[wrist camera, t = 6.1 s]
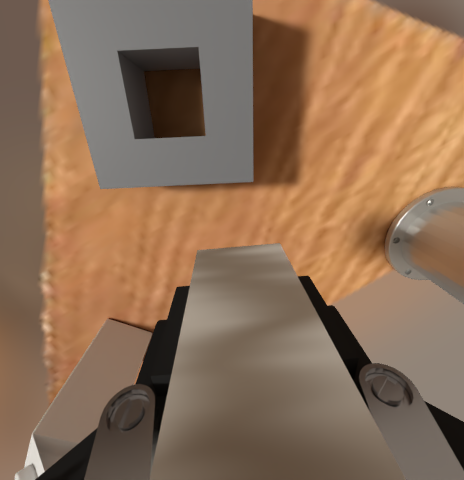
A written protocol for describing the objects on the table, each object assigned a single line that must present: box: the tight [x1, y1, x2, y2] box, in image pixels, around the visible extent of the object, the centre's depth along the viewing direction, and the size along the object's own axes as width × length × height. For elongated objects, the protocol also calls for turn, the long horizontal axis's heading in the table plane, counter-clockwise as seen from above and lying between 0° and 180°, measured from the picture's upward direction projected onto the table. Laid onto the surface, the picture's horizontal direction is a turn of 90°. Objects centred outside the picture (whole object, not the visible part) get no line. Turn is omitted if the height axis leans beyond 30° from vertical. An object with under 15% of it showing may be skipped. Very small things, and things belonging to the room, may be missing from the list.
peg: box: [150, 243, 406, 480], centre depth 7 cm, size 4×4×11 cm
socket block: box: [48, 0, 253, 189], centre depth 21 cm, size 14×14×6 cm
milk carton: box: [15, 319, 152, 480], centre depth 28 cm, size 7×7×19 cm
